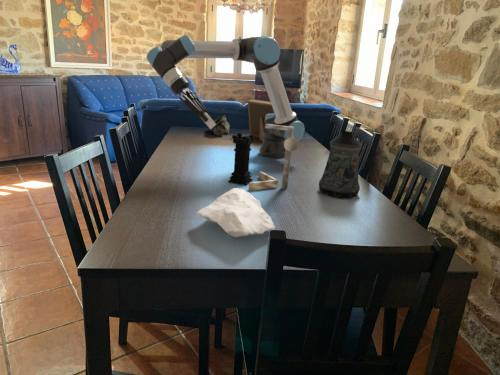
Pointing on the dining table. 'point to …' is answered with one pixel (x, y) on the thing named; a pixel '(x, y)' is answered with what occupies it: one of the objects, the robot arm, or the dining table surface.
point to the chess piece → (241, 160)
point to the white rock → (238, 214)
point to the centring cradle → (289, 146)
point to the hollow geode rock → (221, 126)
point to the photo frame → (258, 116)
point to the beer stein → (342, 168)
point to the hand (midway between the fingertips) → (213, 126)
